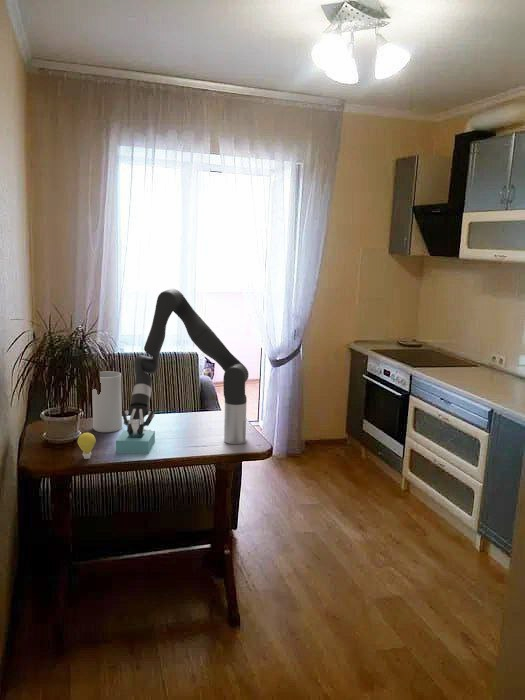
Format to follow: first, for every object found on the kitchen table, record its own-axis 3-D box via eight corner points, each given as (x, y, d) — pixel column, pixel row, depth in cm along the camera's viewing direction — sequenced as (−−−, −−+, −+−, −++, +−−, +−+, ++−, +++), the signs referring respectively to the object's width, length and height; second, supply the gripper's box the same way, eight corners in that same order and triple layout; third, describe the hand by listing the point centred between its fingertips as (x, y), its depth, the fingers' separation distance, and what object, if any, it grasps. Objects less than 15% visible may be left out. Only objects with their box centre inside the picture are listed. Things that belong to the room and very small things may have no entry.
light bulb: (96, 460, 216) (95, 435, 214) (77, 461, 214) (77, 436, 212) (96, 454, 222) (95, 429, 220) (78, 455, 220) (77, 430, 218)
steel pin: (141, 441, 232) (141, 418, 230) (139, 444, 229) (139, 420, 227) (132, 441, 232) (132, 417, 230) (130, 444, 229) (130, 420, 227)
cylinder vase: (122, 423, 261) (121, 371, 256) (122, 432, 249) (121, 377, 244) (93, 425, 258) (92, 371, 253) (92, 433, 246) (91, 378, 241)
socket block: (154, 442, 237) (154, 431, 236) (148, 453, 224) (148, 441, 223) (124, 441, 237) (123, 430, 236) (116, 452, 224) (115, 440, 223)
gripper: (122, 392, 234) (115, 429, 224) (156, 393, 234) (150, 430, 224) (125, 401, 240) (119, 437, 231) (158, 401, 240) (153, 438, 231)
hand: (134, 433), depth 228 cm, fingers closed on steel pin, 3 cm apart
